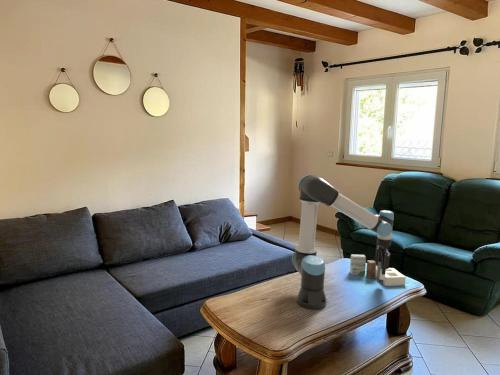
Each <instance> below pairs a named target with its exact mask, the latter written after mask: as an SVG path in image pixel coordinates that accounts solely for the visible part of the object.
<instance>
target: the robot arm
mask: <svg viewBox="0 0 500 375" xmlns="http://www.w3.org/2000/svg"><path fill="white" fill-rule="evenodd" d="M297 184H298V185H297V188H298V191H299V201H300V202H301V212H300V222H299V223H300V225H299V236H298V245H297V246H296V247H295V251H294V253H293V254H292V258H291V262H292V265H293V267H294V268H295V269H296V271H297V272H298V273H299V274H300V276H301V277H300V289H299V291H298V294H297V296H296V303H297V304H298V305H299V306H300V307H302V308H305V309H308V310H320V309H324V308H325V307H326V306H327V296H326V293H325V289H324V288H325V273H326V271H325V270H326V263H325V261H324V259H323V258H321V257H320V256H317V252H318V250H317V248H315V242H316V233H317V232H316V230H317V222H318V221H317V220H318V209H319V204H320V203H321V204H323V205H325V206H327V207H332V208H334V209H336V210H337V211H339V212H340V213H342V214H344V215H345V216H348V218H351V219H353V221H355V222H357V225H358V227H359V228H360V229H369V230H370V231H372V232H374V233H375V234H376V235H377V236H376V237H377V238H376V245H375V260H374V261H375V263H376V268H377V272H376V276H377V273H378V263H379V261H382V268H380V280H385V272H386V269H388V268H390V267H389V266H390V258H391V255H392V253H391V252H389V247H391V246H392V235H393V227H394V220H395V218H394V217H395V216H394V215H395V213H394V212H393V211H391V210H385V209H384V210H380V211H379V213H378V214H374V213H372V212H371V211H369V210H368V209H366V208H364V207H363V206H361V205H359V204H357V203H356V202H355V201H353V200H351V199H349V198H348V197H347V196H345V195H343V194H341V193H340V191H339V189H338V188H335V186H333V185H332V184H330V183H329V182H328V181H327V180H325V179H324V178H322V177H319V176H317V175H315V174H306V175H304V176H302V177H301V178H300V180H299V181H298V183H297Z"/></svg>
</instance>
